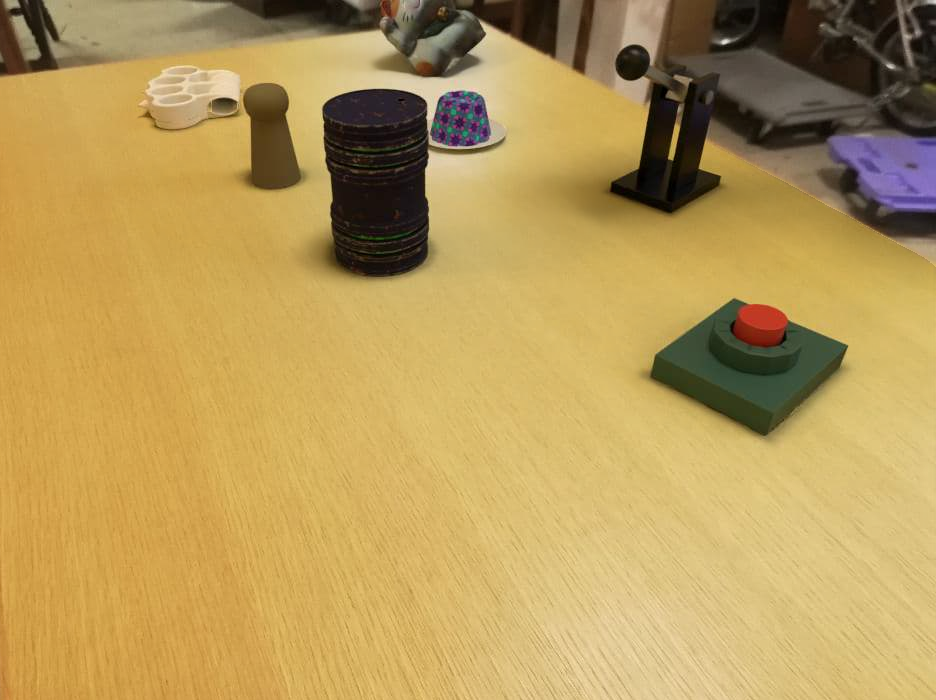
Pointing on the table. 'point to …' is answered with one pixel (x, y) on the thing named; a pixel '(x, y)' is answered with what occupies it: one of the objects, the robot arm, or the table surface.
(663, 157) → the bracket
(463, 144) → the pudding
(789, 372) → the button box
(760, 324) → the button
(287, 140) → the brown pawn
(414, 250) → the dark purple cylinder
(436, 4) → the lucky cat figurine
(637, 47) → the lever
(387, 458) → the table surface
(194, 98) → the white brass knuckles
